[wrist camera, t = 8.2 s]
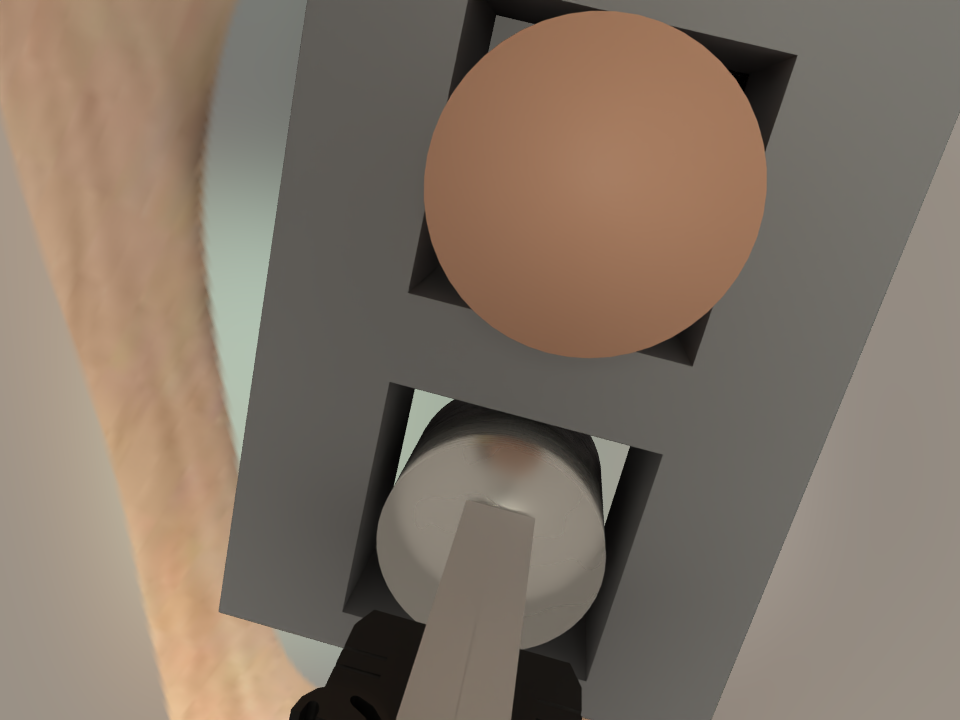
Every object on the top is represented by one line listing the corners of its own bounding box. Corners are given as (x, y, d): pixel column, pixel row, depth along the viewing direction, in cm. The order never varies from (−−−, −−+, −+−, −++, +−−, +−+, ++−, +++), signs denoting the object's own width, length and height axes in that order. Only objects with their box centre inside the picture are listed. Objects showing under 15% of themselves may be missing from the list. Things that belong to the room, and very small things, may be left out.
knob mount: (455, -501, 15) (411, -722, 11) (1064, -383, 14) (1241, -575, 10) (281, 530, 22) (218, 612, 18) (677, 642, 21) (698, 750, 18)
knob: (436, 364, 19) (400, 419, 16) (623, 414, 19) (635, 482, 15) (398, 529, 21) (358, 616, 17) (572, 578, 21) (570, 677, 17)
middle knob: (495, 19, 14) (463, -26, 10) (754, 80, 14) (819, 56, 10) (440, 271, 16) (395, 313, 12) (673, 331, 15) (703, 393, 12)
